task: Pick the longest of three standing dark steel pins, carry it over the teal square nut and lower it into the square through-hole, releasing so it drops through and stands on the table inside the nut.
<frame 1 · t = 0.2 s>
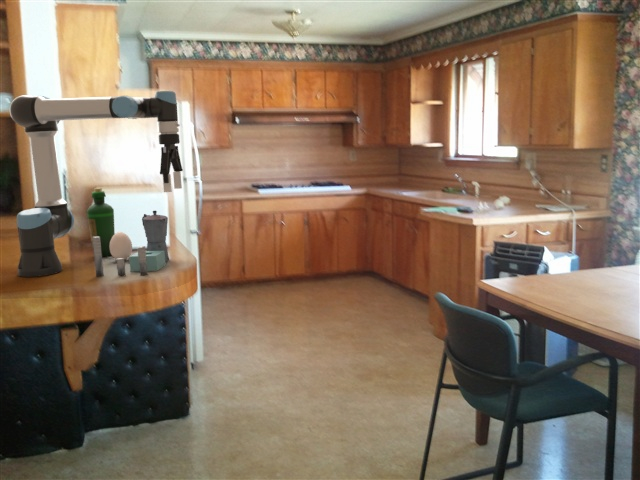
hand: (173, 190, 244), 28 cm above the counter, fingers open, 13 cm apart
bottle: (104, 255, 269), on the counter
pin medium: (143, 274, 229), on the counter
teal square nut: (148, 268, 240), on the counter
moka pot: (156, 261, 253), on the counter
pin long: (99, 275, 230), on the counter
egg: (122, 260, 257), on the counter
pin short: (121, 275, 229), on the counter
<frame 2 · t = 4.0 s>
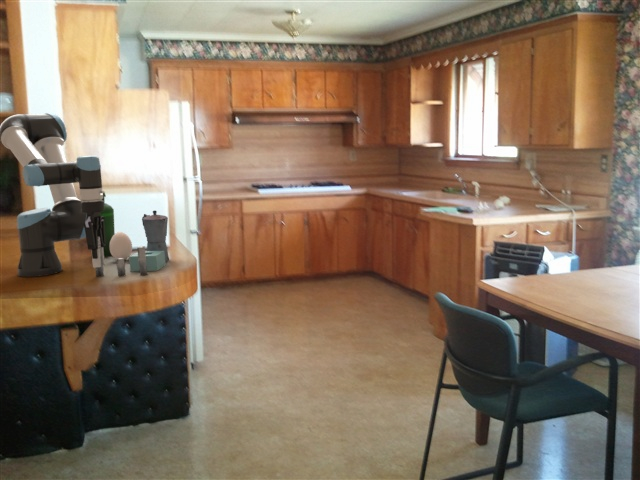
hand: (98, 266, 229), 4 cm above the counter, fingers closed on pin long, 2 cm apart
pin long: (99, 275, 230), on the counter, touching gripper
everything else where it was.
when the fingers open (7 cm above the counter, at t = 7.8 s): pin long drops 2 cm, resting in teal square nut.
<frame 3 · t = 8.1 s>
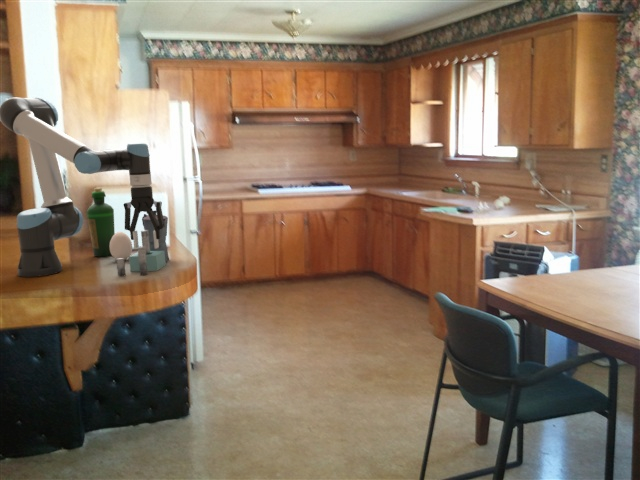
hand: (146, 248, 238), 8 cm above the counter, fingers open, 7 cm apart
pin long: (148, 268, 240), resting in teal square nut
everything else where it was.
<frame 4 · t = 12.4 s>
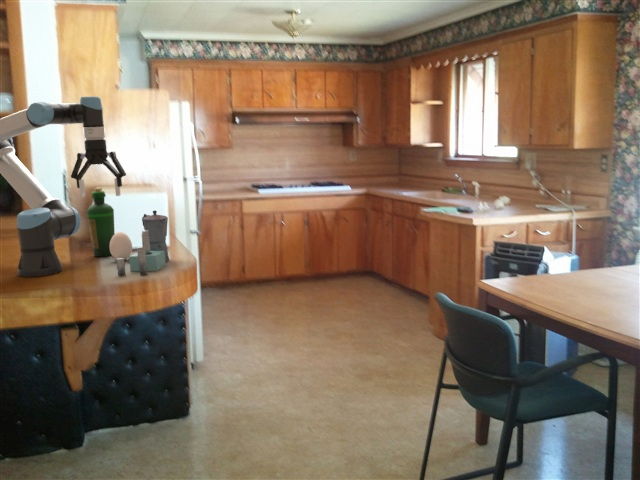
hand: (100, 196, 242), 27 cm above the counter, fingers open, 13 cm apart
nothing on the counter moved.
at the end: pin long 0.1 cm off-centre on the teal square nut, point 0.0 cm above the teal square nut's base; pin long tilted 0°; the gripper is holding nothing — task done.
